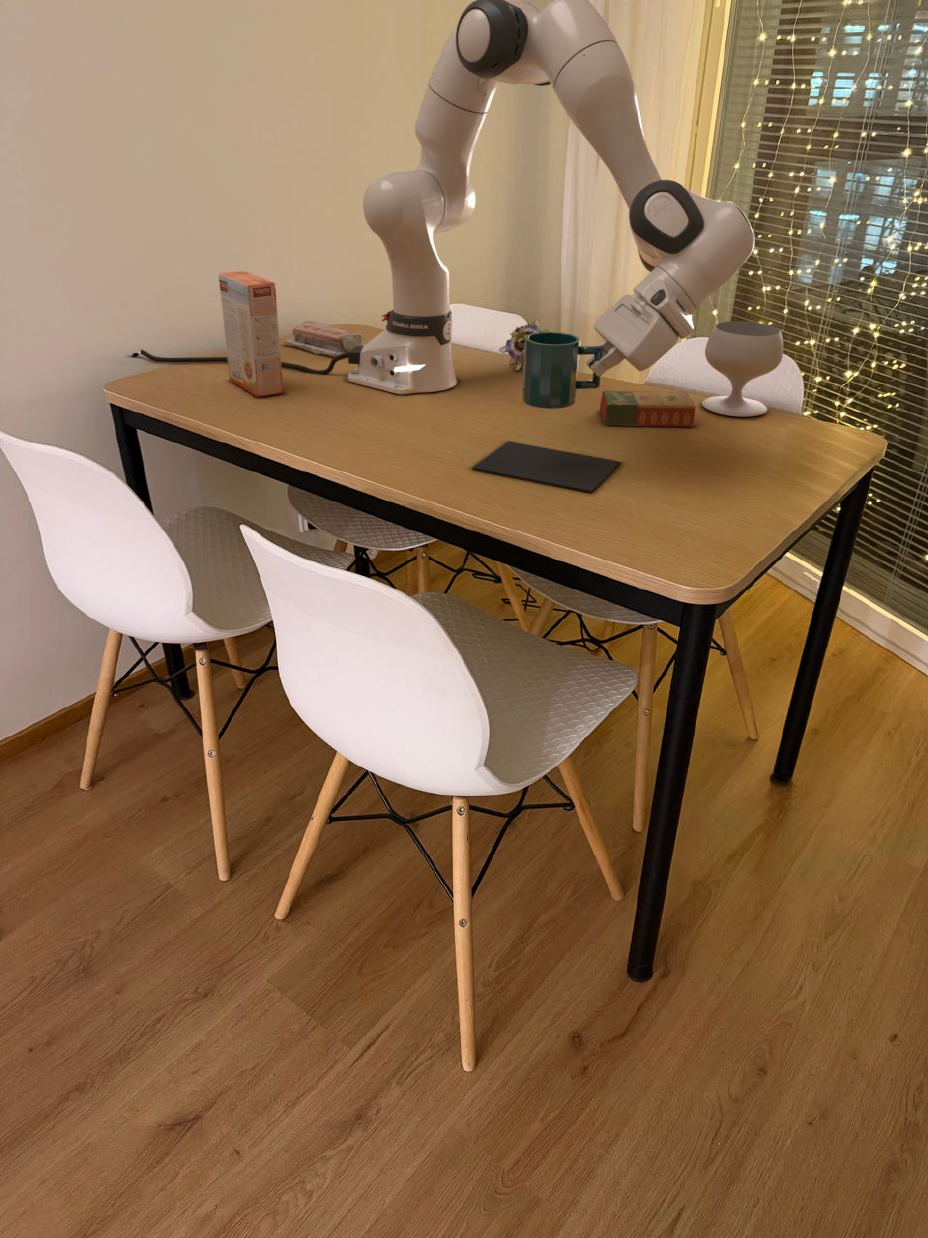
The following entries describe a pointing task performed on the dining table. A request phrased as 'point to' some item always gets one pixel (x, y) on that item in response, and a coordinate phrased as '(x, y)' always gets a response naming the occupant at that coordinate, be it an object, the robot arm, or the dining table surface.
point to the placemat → (548, 466)
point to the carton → (647, 408)
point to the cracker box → (251, 332)
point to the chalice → (742, 362)
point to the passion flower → (520, 343)
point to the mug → (554, 369)
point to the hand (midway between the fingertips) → (591, 370)
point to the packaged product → (324, 339)
